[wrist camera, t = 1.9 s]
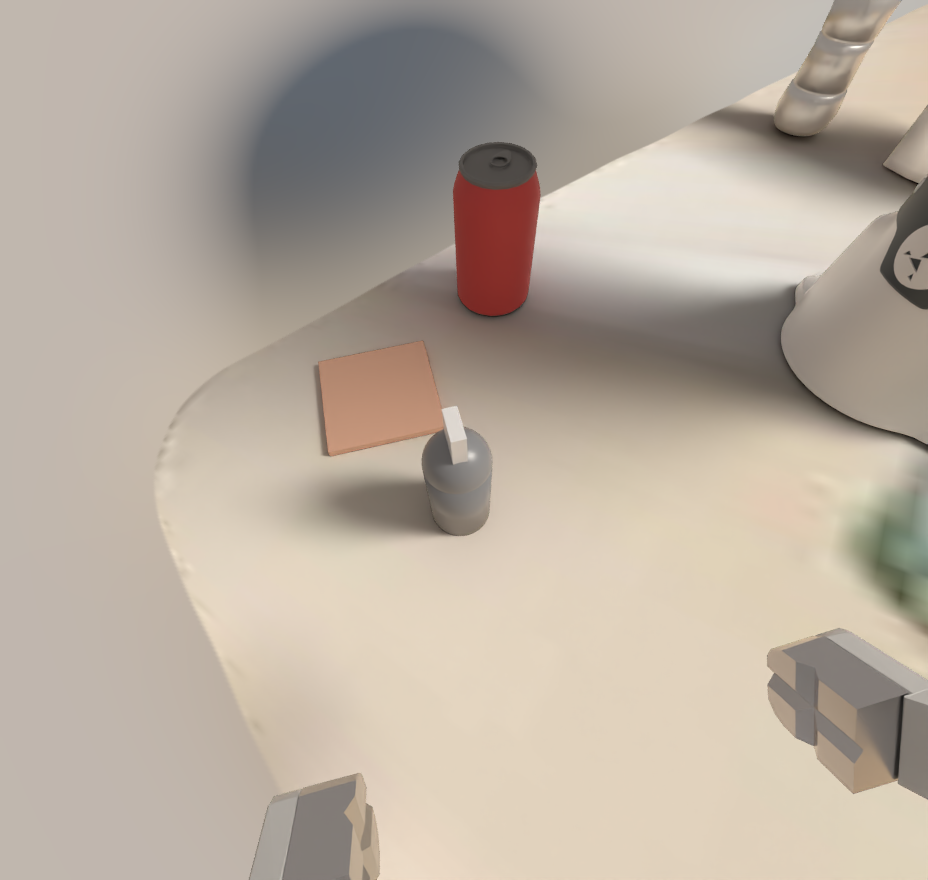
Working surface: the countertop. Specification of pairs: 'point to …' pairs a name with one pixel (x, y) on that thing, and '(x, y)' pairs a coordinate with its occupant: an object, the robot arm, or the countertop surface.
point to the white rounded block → (912, 151)
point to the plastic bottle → (831, 65)
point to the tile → (379, 398)
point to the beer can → (495, 226)
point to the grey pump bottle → (458, 476)
